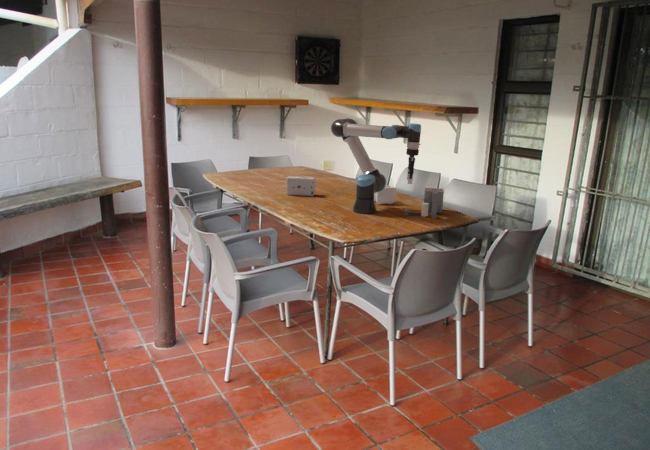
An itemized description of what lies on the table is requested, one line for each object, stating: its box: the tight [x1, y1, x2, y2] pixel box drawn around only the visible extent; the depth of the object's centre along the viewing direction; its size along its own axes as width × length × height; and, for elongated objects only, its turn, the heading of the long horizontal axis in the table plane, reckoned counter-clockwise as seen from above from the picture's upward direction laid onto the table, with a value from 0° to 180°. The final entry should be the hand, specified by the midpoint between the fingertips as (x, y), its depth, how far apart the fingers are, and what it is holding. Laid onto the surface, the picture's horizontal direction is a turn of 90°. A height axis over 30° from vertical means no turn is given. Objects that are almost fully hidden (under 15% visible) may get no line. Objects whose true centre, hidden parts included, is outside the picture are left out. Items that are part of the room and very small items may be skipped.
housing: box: [422, 187, 445, 220], centre depth 339 cm, size 12×29×16 cm, turn 171°
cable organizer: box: [374, 184, 397, 205], centre depth 368 cm, size 15×11×12 cm
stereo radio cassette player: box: [286, 168, 317, 197], centre depth 386 cm, size 21×8×20 cm, turn 84°
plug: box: [403, 202, 429, 217], centre depth 335 cm, size 15×4×8 cm, turn 81°
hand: (409, 181), depth 336 cm, fingers open, 13 cm apart
